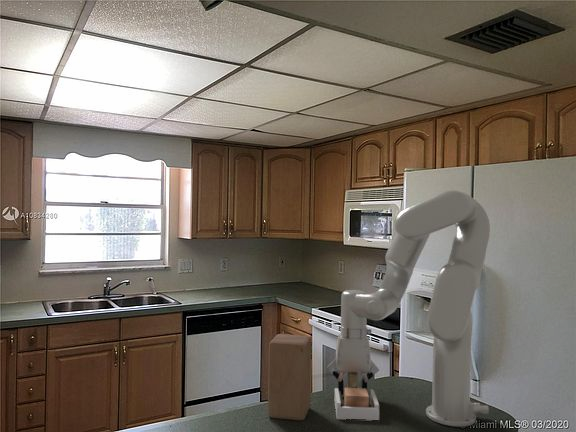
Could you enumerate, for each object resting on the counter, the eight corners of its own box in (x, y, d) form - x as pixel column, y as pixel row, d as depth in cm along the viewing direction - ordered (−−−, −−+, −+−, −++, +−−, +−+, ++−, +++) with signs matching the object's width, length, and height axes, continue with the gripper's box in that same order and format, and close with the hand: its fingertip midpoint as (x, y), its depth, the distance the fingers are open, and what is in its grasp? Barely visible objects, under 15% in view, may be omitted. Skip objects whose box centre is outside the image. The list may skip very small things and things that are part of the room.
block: (362, 395, 140) (362, 371, 140) (368, 417, 125) (368, 390, 125) (341, 394, 141) (342, 371, 141) (345, 416, 125) (346, 390, 125)
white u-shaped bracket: (373, 403, 134) (373, 389, 134) (379, 420, 123) (379, 405, 123) (334, 402, 135) (334, 388, 135) (336, 419, 123) (336, 403, 123)
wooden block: (304, 422, 121) (306, 344, 121) (266, 418, 123) (268, 341, 123) (310, 407, 131) (312, 335, 131) (275, 403, 133) (276, 332, 133)
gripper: (380, 330, 143) (379, 390, 143) (323, 328, 143) (322, 388, 143) (384, 336, 135) (383, 400, 135) (324, 334, 136) (323, 397, 136)
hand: (352, 393), depth 139 cm, fingers open, 5 cm apart
